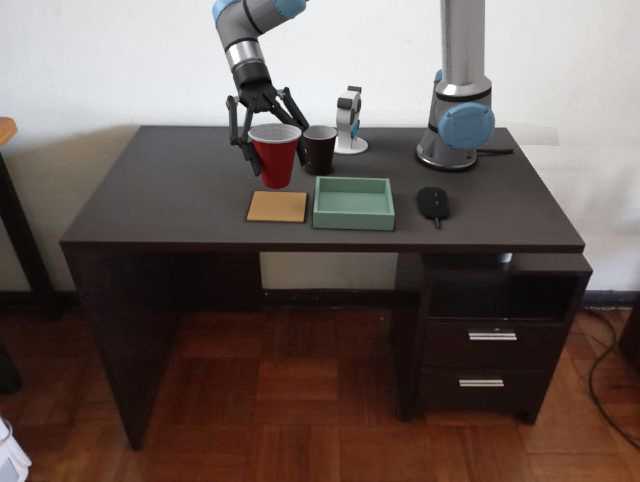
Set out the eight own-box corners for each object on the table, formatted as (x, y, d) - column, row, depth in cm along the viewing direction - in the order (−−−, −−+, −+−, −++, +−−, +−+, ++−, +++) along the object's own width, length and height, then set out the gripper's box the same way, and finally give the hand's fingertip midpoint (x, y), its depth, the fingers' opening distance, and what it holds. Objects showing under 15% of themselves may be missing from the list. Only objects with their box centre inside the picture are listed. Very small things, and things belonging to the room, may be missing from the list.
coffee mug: (332, 179, 122) (333, 141, 116) (297, 175, 124) (297, 137, 118) (340, 158, 132) (341, 122, 126) (308, 155, 133) (308, 119, 127)
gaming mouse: (423, 227, 106) (425, 211, 103) (415, 192, 118) (418, 177, 115) (453, 228, 105) (456, 212, 103) (442, 193, 117) (445, 178, 115)
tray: (387, 192, 117) (389, 178, 115) (392, 230, 105) (394, 215, 102) (316, 190, 118) (316, 176, 115) (313, 227, 105) (313, 212, 103)
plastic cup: (306, 173, 111) (306, 121, 104) (296, 197, 103) (295, 143, 96) (259, 168, 113) (256, 117, 106) (245, 192, 104) (240, 138, 97)
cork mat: (306, 194, 116) (306, 192, 116) (303, 222, 106) (303, 221, 106) (254, 192, 116) (254, 191, 116) (246, 220, 107) (246, 219, 106)
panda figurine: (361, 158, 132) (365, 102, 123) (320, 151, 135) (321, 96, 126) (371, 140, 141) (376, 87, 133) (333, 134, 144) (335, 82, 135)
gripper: (292, 72, 113) (323, 164, 111) (194, 86, 104) (226, 186, 102) (302, 54, 106) (336, 152, 104) (199, 67, 97) (233, 174, 95)
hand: (282, 169), depth 103 cm, fingers closed on plastic cup, 10 cm apart
